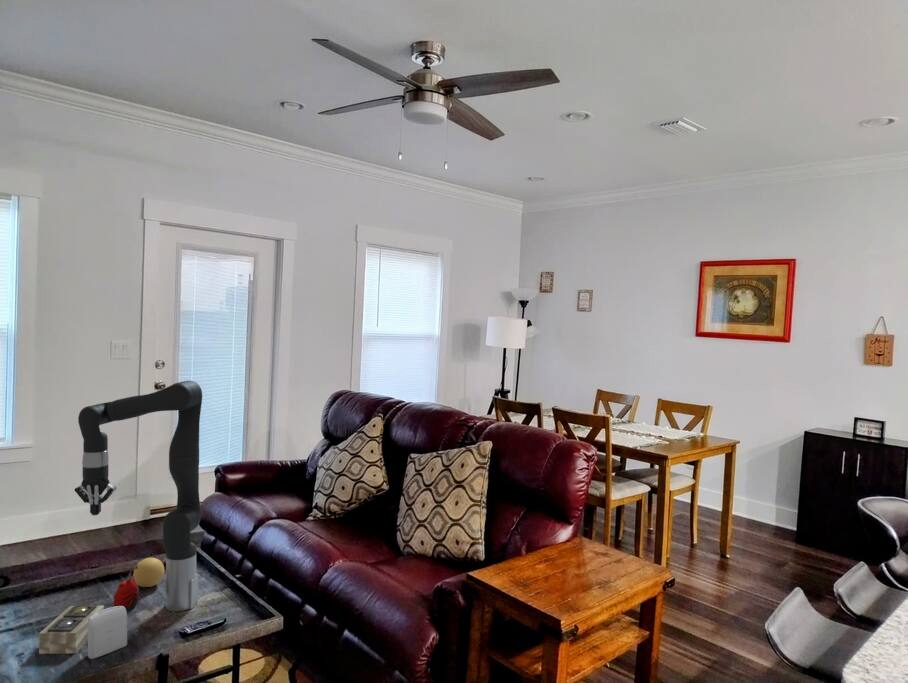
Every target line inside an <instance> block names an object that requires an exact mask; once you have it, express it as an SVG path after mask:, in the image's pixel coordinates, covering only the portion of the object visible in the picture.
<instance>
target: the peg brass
mask: <svg viewBox="0 0 908 683" xmlns="http://www.w3.org/2000/svg"><path fill="white" fill-rule="evenodd" d="M86 611H87V607H85V606H82V607H78V608H75V609H74V610H73V614H84V613H85V612H86Z"/></svg>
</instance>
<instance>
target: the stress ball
mask: <svg viewBox="0 0 908 683" xmlns="http://www.w3.org/2000/svg"><path fill="white" fill-rule="evenodd" d="M135 567H138V569H133V577H132V579H135V582H136V584H137V585H138V586H140V587H143V588H145V587H150V588H153V587H154V586H156V585H157V584H159V583H160V582H161V580H162V579H163V577H164V575H165V566H164V563H163V562H162V561H161V560H160V559H158V558H155V557H147V558H146V557H145V558H143V559H141V561H139V562H137V564H136V565H135Z"/></svg>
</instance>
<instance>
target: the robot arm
mask: <svg viewBox="0 0 908 683" xmlns="http://www.w3.org/2000/svg"><path fill="white" fill-rule="evenodd" d="M202 403H203V390H202V388H201V386H200V384H199V383H197V382H196V381H195V380H184V381H180V382H176V383H175V382H174V383H173V384H171V385H169V386H167V387H166V386H165V387H164V388H162V389H160V390H157V391H154V392H151V393H146V394H139V395H135V396H134V395H133V396H127V397H124V398H120V399H119V398H118V399H116V400H113V401H108V402H102V403H97V404H93V405H88V406H85V407H83V408H82V409H81V410H80V411H79V413H78V420H77V421H78V426H79V428H80V429H79V430H80V433H81V436H82V439H83V442H82V444H83V445H82V446H83V449H82V450H83V452H82V453H83V454H82V463H81V464H82V471H81V472H82V474H81V475H82V476H81V477H82V481H81V484H80V485H79V486H76V487H75V488H74V492H75V493H76V495H77V496H78V497H79V498H80V499H81V500H82V501H83V502H84V503H85V504H86V503H88V504H89V513H90V514H91V516H98V515H99V514H100V513H101V511H102V504H103V503H104V502H106V501H108V499H109V498H110V497H111V495H113V493H115V491H116V489H117V486H116V485H115V486H113V485H112V484H110V483H111V482H110V480H109V451H108V449H109V447H108V446H109V445H108V442H109V441H108V440H109V439H108V434H107V432H102V431H101V429H100V426H101V425H105V424H108V423H109V424H110V423H112V422H117V421H125V420H129V419H134V418H137V417H141V416H144V415H147V414H152V413H157V412H158V413H159V412H168V411H169V412H170V411H178V413H177V415H178V417H177V418H178V420H177V424H176V425H177V426H176V428H175V431H174V434H173V435H172V436H173V437H172V439H171V442H170V446H169V450H168V451H169V452H168V470H169V473H170V476H171V478H172V480H173V482H174V485H175V486H176V490H177V492H176V493H177V502H176V508H174V509H173V510H172V511H169V512H168V513H167V514H165V516H164V519H163V522H162V542H163V549H164V551H165V609H166V610H167V611H170V612H182V611H186V610H192V609H193V608H194V606H195V605H196V604H197V602H198V600H199V598H198V597H199V573H197V545H196V543H194V542H192V541H191V533H192V531H194V530H195V529H196V528H198V526H199V525H200V524H201V523H200V522H201V519H202V514H201V512H202V511H201V502H200V492H199V490H200V489H199V486H200V485H199V484H200V483H199V482H200V481H199V480H200V476H199V473H200V421H201V420H200V419H201V412H202ZM105 491H106V492H105ZM104 492H105V494H104Z"/></svg>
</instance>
